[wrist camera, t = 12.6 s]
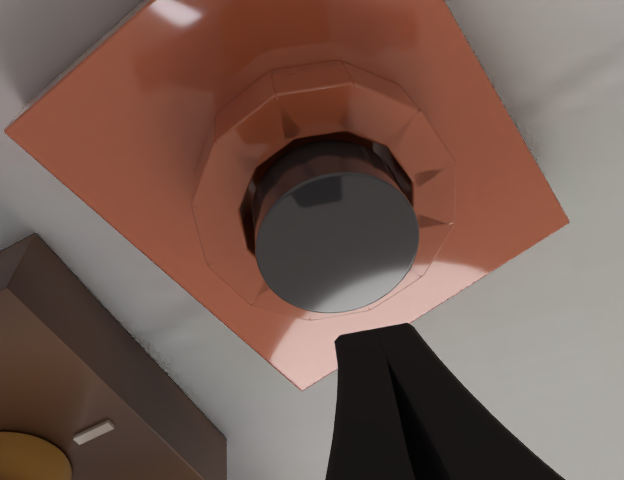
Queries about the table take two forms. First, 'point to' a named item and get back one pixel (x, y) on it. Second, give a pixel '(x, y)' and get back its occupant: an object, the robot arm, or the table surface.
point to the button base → (284, 137)
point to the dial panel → (91, 381)
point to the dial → (31, 459)
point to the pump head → (332, 227)
